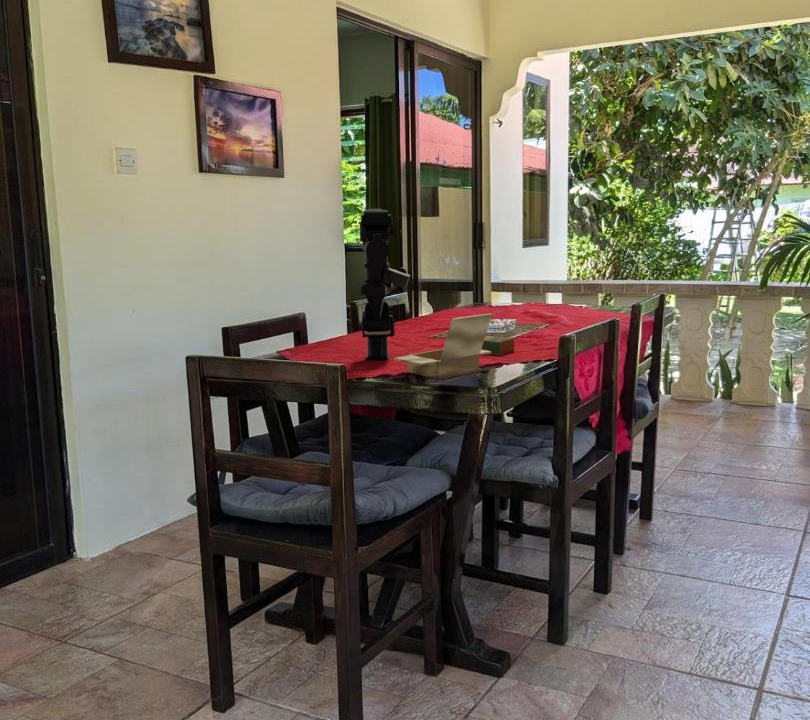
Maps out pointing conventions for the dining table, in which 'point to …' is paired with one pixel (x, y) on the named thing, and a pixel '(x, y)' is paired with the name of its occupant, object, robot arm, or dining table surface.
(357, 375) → the dining table surface
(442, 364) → the open box
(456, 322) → the flap
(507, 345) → the carton
